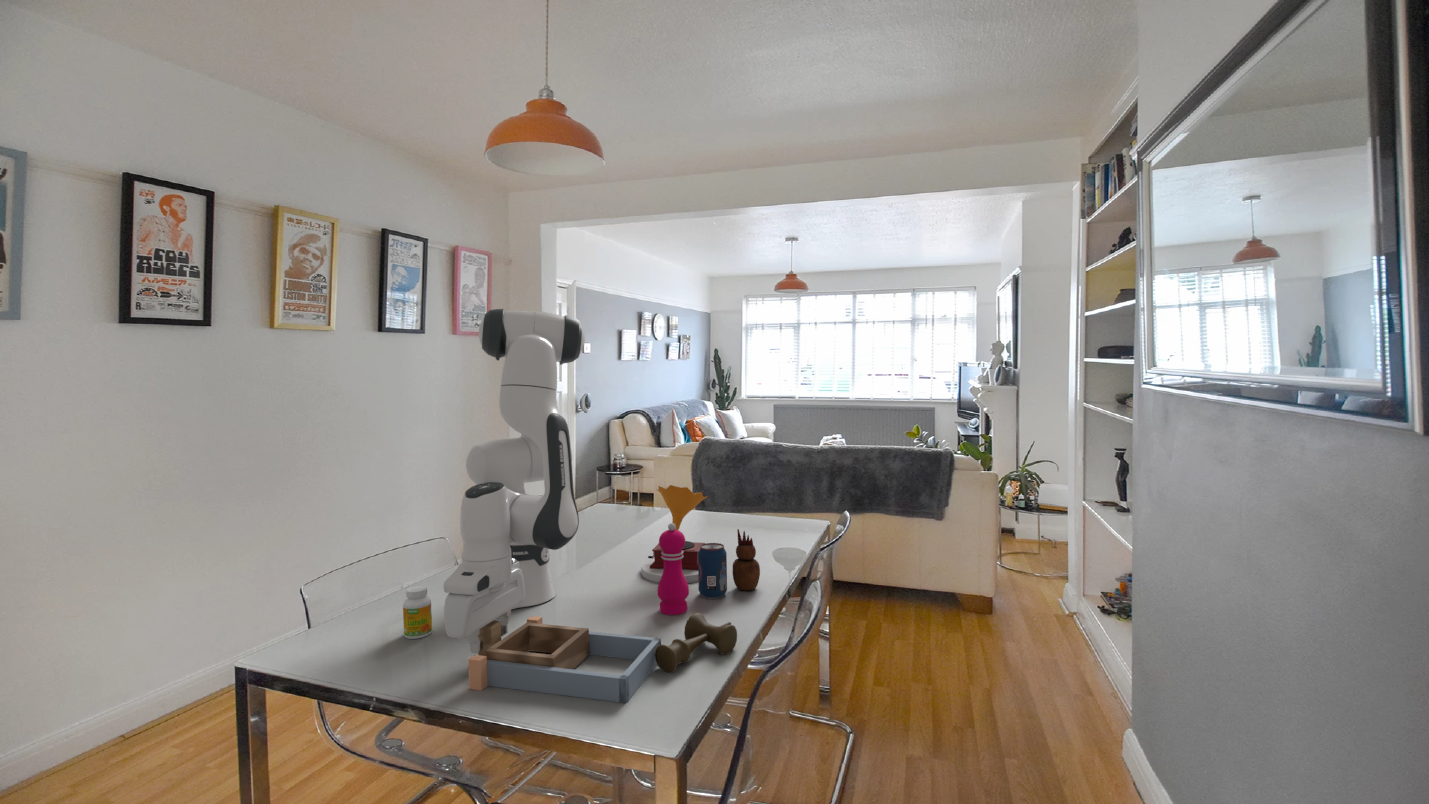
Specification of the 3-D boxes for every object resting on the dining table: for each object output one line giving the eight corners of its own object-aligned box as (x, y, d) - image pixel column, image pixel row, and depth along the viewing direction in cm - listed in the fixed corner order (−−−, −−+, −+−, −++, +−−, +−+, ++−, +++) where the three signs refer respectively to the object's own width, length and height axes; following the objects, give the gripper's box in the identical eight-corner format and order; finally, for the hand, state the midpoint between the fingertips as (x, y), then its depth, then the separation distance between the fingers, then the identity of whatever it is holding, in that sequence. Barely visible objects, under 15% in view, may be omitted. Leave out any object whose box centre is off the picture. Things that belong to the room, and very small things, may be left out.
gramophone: (709, 585, 165) (707, 487, 164) (631, 582, 168) (629, 486, 167) (722, 562, 185) (720, 475, 184) (652, 559, 188) (650, 474, 187)
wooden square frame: (460, 675, 116) (459, 637, 116) (503, 644, 129) (502, 610, 129) (554, 686, 111) (553, 646, 111) (589, 654, 124) (588, 618, 124)
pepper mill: (685, 617, 143) (683, 527, 142) (653, 615, 145) (651, 526, 144) (692, 605, 150) (691, 520, 149) (662, 603, 152) (660, 519, 151)
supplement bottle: (404, 641, 132) (402, 594, 132) (403, 632, 137) (401, 587, 137) (433, 636, 135) (431, 590, 134) (431, 627, 140) (429, 583, 139)
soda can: (700, 589, 161) (699, 542, 161) (728, 590, 160) (727, 542, 160) (697, 599, 154) (696, 549, 154) (726, 599, 154) (725, 549, 153)
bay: (469, 688, 112) (468, 659, 111) (532, 641, 131) (531, 616, 131) (621, 708, 104) (621, 677, 104) (664, 655, 124) (664, 628, 124)
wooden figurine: (729, 590, 160) (728, 530, 159) (737, 583, 165) (736, 525, 165) (755, 594, 157) (754, 532, 157) (762, 586, 163) (762, 527, 162)
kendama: (644, 668, 120) (712, 630, 135) (683, 684, 114) (750, 643, 129) (643, 637, 119) (712, 603, 135) (682, 652, 113) (749, 614, 129)
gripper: (504, 554, 132) (506, 621, 133) (436, 586, 113) (439, 664, 113) (531, 556, 131) (533, 623, 131) (467, 589, 111) (470, 668, 111)
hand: (489, 643), depth 122 cm, fingers open, 6 cm apart
